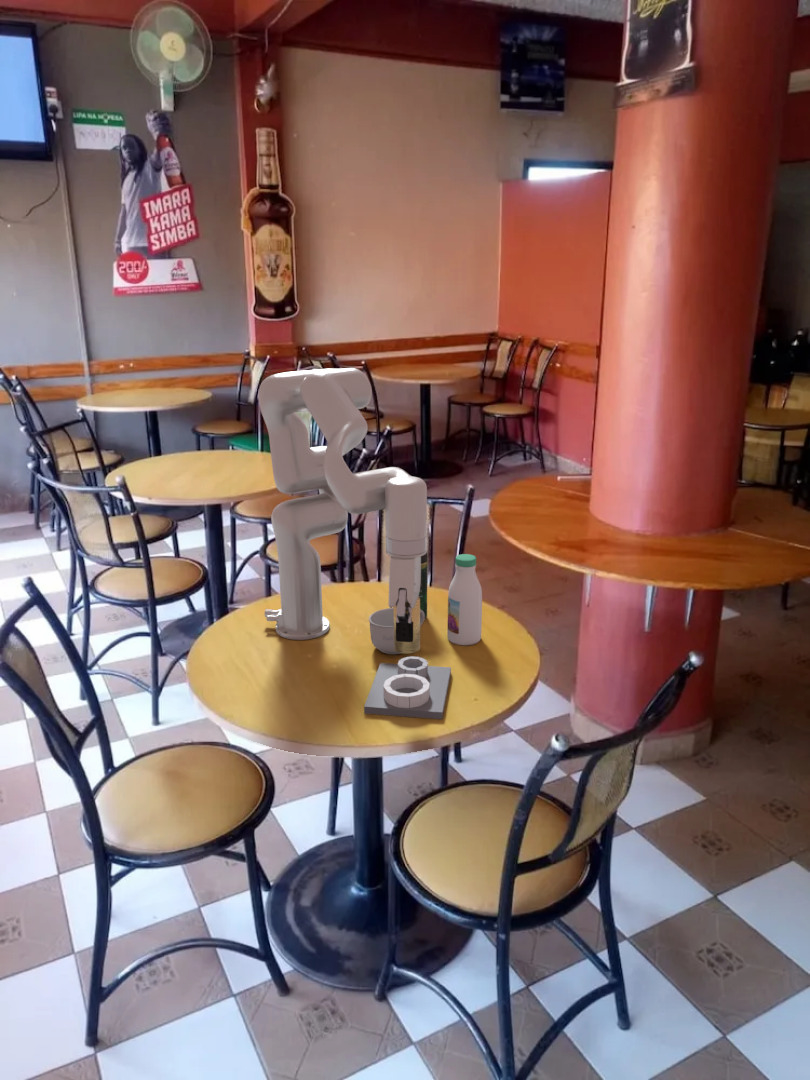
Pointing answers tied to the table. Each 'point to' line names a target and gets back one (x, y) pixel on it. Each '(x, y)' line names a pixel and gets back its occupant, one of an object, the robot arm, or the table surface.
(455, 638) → the milk bottle
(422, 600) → the coffee jar
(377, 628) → the teacup
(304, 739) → the table surface
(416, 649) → the gold cylindrical peg
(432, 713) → the collar board
